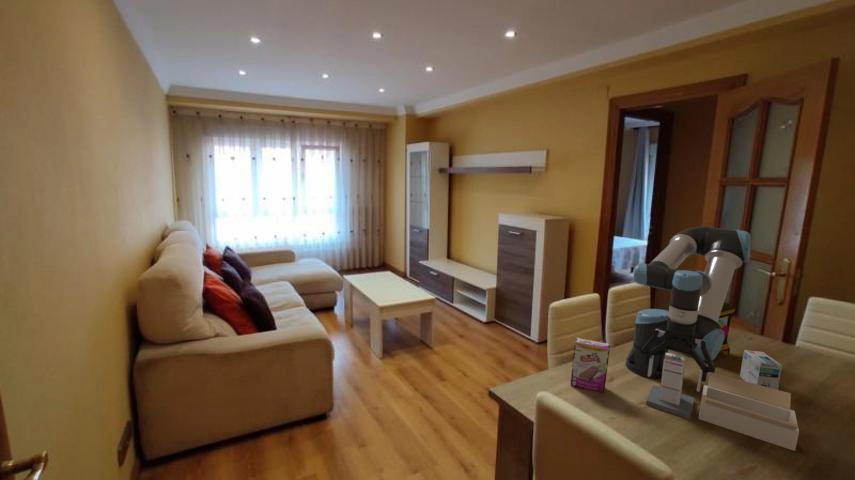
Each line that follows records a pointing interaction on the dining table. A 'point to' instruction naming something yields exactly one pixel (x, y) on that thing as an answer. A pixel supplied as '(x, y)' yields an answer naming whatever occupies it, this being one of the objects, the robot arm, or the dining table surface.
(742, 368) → the light bulb box
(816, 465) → the dining table surface
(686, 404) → the slate mat
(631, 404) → the dining table surface
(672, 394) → the syrup box
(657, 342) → the robot arm
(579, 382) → the candy bar box
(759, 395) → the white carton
